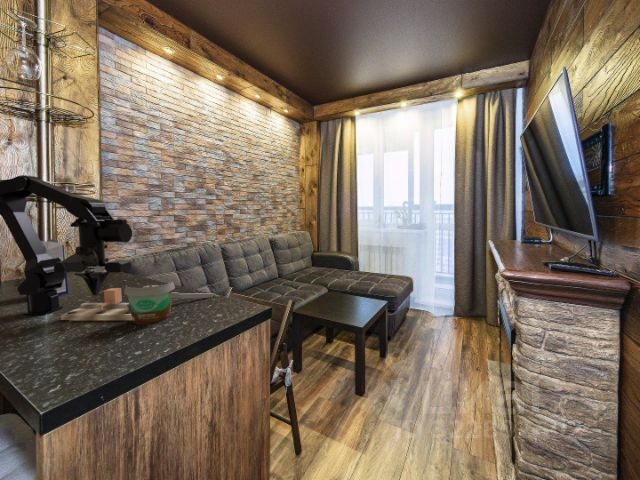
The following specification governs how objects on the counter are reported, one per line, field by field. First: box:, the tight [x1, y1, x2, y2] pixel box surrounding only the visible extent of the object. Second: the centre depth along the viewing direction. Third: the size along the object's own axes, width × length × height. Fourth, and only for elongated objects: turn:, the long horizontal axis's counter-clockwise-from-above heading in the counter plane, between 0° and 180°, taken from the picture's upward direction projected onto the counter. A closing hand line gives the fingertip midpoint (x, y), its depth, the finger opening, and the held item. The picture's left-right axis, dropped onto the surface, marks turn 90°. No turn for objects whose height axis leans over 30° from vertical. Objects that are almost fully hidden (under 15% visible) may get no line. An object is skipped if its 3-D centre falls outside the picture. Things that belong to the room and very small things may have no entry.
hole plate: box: [60, 302, 132, 321], centre depth 87 cm, size 19×11×6 cm, turn 91°
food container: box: [123, 280, 176, 325], centre depth 81 cm, size 12×6×10 cm, turn 117°
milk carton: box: [40, 238, 69, 297], centre depth 106 cm, size 7×7×20 cm
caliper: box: [171, 291, 219, 302], centre depth 99 cm, size 20×1×6 cm, turn 137°
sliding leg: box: [99, 287, 123, 311], centre depth 87 cm, size 3×7×5 cm, turn 1°
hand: (95, 294), depth 89 cm, fingers closed
